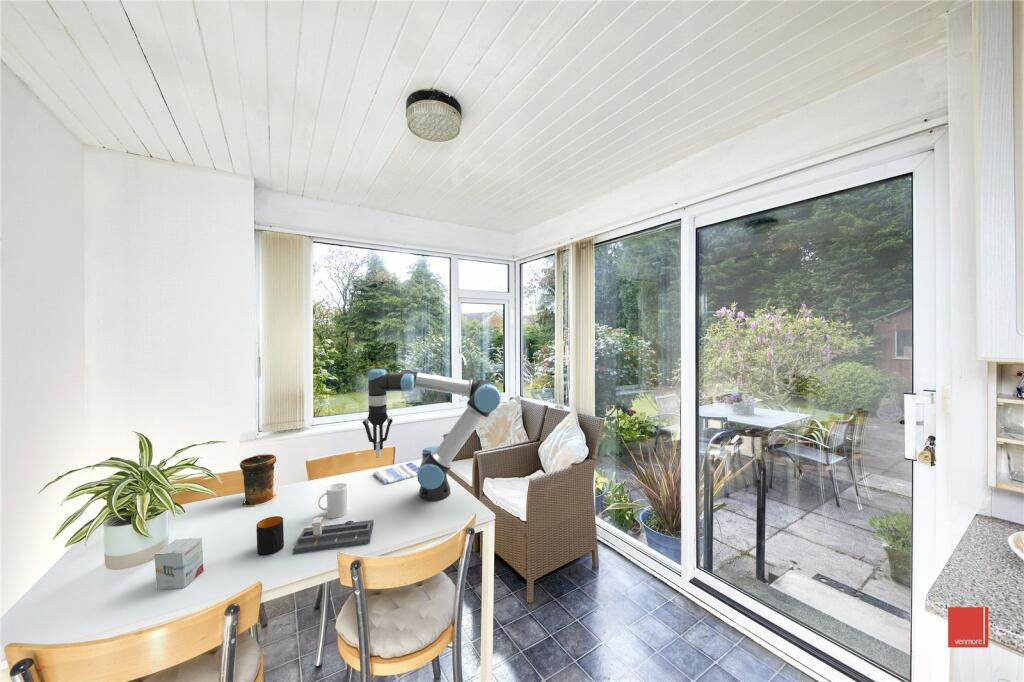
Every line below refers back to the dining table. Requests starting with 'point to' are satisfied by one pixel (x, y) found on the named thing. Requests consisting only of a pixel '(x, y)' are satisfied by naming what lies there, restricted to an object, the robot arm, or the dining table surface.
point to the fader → (317, 526)
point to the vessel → (258, 479)
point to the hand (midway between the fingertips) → (378, 456)
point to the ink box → (178, 563)
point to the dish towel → (397, 473)
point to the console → (335, 537)
